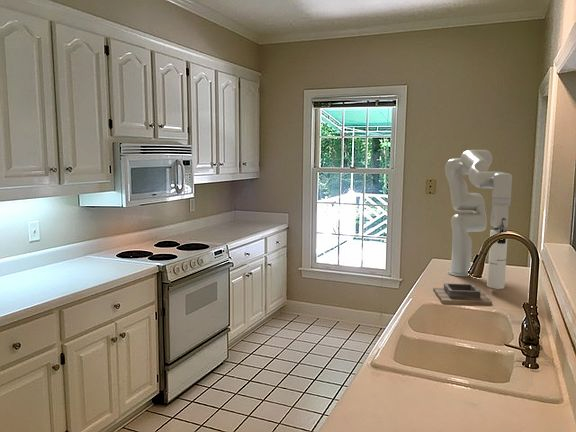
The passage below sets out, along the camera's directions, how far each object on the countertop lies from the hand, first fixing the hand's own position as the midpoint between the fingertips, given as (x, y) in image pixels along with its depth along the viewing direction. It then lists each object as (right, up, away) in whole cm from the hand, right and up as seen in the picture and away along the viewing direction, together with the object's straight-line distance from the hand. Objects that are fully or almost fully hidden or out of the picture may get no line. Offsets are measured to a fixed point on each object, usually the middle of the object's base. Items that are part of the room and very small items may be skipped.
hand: (498, 241), depth 218 cm
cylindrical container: (0, -20, +3) cm, 21 cm away
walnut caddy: (-18, -24, -4) cm, 30 cm away
